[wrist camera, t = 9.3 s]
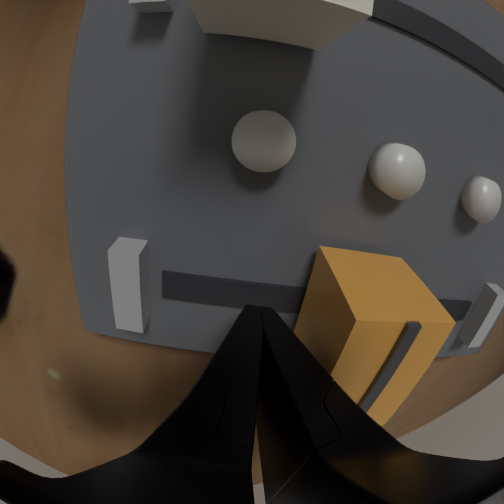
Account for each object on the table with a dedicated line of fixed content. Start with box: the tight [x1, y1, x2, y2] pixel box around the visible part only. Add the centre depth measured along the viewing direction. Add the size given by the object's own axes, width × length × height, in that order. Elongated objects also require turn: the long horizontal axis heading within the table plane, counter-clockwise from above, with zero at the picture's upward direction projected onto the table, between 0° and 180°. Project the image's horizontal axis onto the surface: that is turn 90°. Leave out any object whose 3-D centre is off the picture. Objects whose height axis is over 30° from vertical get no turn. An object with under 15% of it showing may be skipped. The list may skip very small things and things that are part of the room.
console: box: [65, 0, 504, 358], centre depth 8 cm, size 20×16×2 cm
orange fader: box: [294, 246, 456, 426], centre depth 8 cm, size 3×4×4 cm, turn 171°
